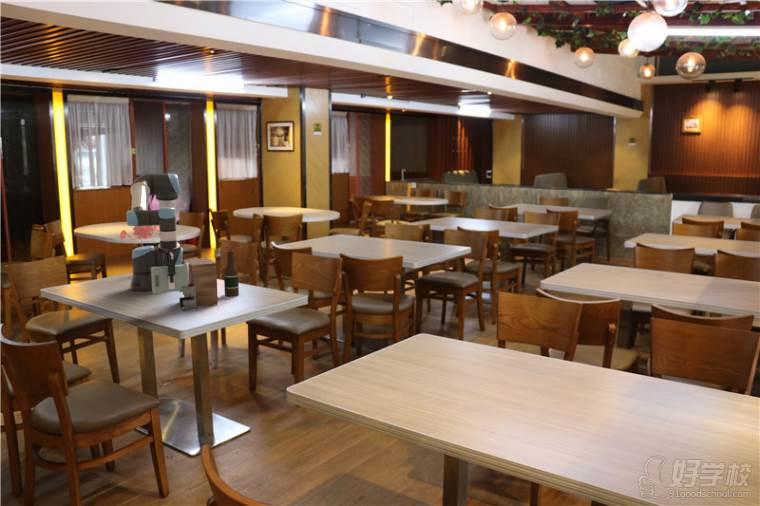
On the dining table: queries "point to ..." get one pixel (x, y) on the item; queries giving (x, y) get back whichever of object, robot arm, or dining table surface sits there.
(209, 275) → the cabinet
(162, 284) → the door
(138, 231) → the red flower bouquet
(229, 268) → the beer bottle
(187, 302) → the grey open frame
